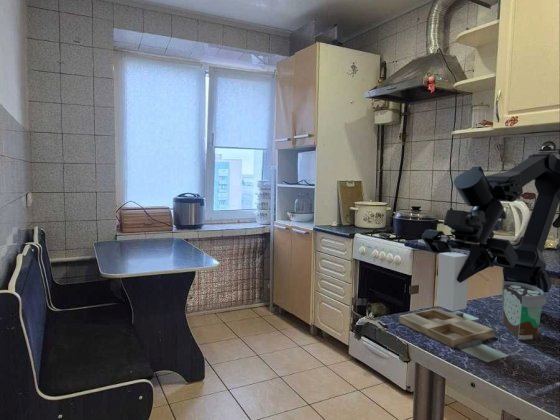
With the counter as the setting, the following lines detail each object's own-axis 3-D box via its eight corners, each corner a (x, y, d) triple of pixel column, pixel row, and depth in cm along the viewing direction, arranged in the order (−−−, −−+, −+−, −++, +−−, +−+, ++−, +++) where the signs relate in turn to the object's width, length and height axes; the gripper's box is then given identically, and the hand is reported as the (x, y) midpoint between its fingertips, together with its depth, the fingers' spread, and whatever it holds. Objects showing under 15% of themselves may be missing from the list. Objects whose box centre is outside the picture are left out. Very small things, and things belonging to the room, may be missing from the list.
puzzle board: (456, 312, 100) (456, 304, 100) (548, 346, 80) (548, 336, 80) (398, 324, 92) (399, 315, 92) (485, 365, 72) (486, 354, 72)
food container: (555, 348, 79) (558, 298, 78) (520, 345, 80) (523, 296, 80) (529, 325, 91) (532, 282, 90) (500, 323, 92) (502, 280, 92)
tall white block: (450, 302, 86) (452, 251, 85) (466, 308, 82) (468, 255, 81) (436, 305, 84) (438, 253, 83) (452, 311, 81) (454, 257, 79)
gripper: (427, 193, 91) (393, 247, 86) (513, 197, 76) (477, 263, 71) (447, 225, 96) (416, 277, 91) (531, 235, 81) (499, 299, 76)
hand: (448, 278), depth 82 cm, fingers closed on tall white block, 4 cm apart
